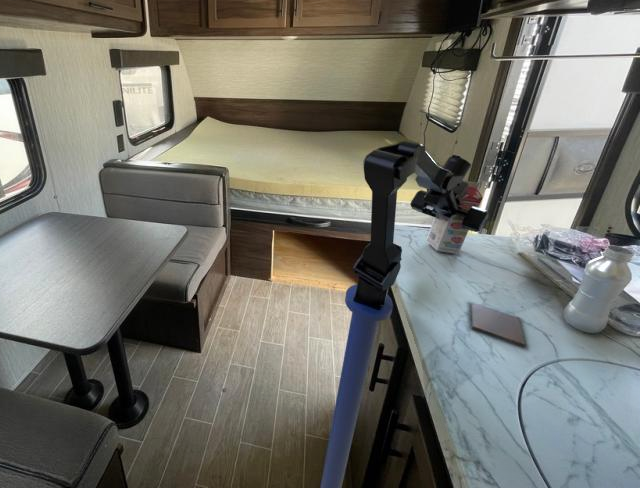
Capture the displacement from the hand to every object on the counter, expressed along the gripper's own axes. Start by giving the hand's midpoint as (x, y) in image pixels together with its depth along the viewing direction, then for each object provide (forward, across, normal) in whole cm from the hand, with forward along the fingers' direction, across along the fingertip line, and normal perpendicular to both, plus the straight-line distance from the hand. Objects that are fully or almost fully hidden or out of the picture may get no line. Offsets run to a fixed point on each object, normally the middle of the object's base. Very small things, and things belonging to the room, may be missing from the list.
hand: (451, 221), depth 98 cm
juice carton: (+5, 0, +7) cm, 9 cm away
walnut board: (-11, -22, +23) cm, 34 cm away
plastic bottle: (0, -33, +13) cm, 35 cm away
